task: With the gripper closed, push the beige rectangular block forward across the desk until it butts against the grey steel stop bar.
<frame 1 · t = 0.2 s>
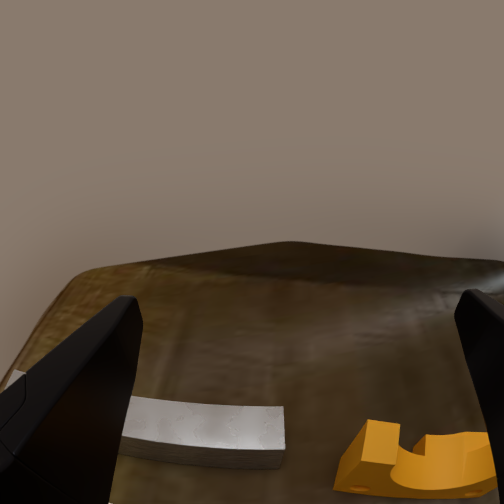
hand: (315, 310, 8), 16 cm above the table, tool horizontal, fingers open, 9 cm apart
stop bar: (137, 439, 19), on the table
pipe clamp: (414, 473, 17), on the table
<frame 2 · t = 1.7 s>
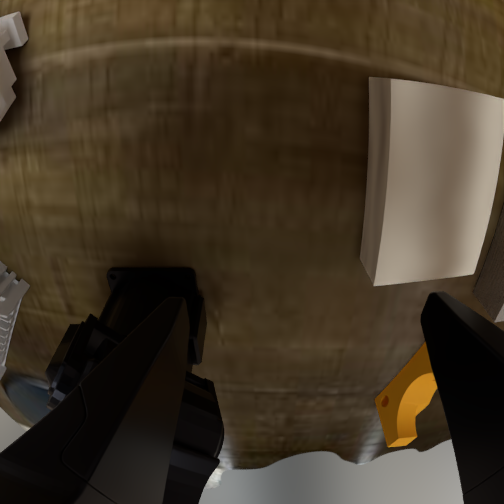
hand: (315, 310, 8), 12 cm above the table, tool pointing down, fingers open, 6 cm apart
beige rectangular block: (420, 173, 19), on the table
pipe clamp: (418, 364, 29), on the table
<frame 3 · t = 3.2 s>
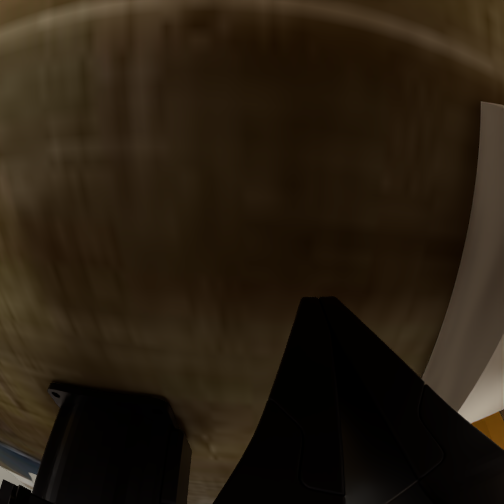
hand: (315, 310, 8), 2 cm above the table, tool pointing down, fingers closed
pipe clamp: (447, 447, 20), on the table
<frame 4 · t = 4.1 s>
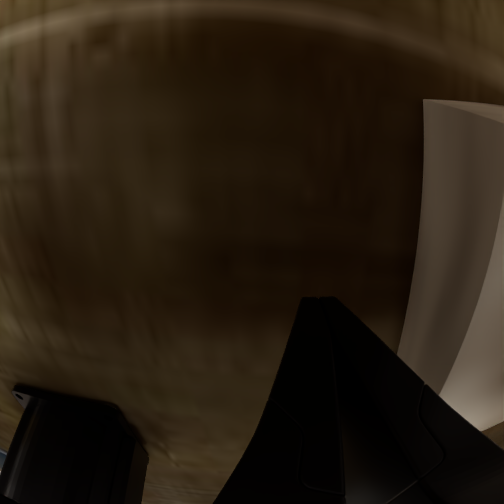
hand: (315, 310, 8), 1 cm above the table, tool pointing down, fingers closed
beige rectangular block: (494, 272, 9), on the table
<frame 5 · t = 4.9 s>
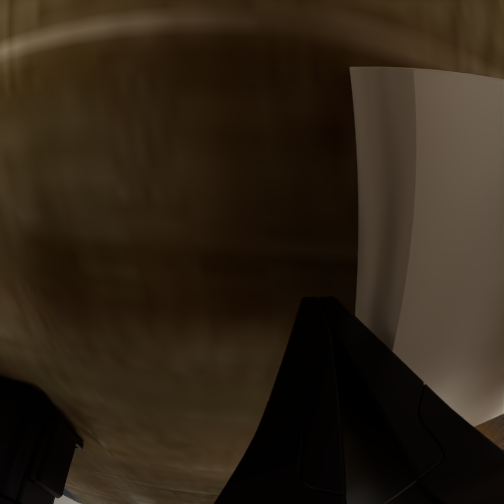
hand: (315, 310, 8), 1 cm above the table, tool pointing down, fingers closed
beige rectangular block: (461, 260, 9), on the table, touching gripper
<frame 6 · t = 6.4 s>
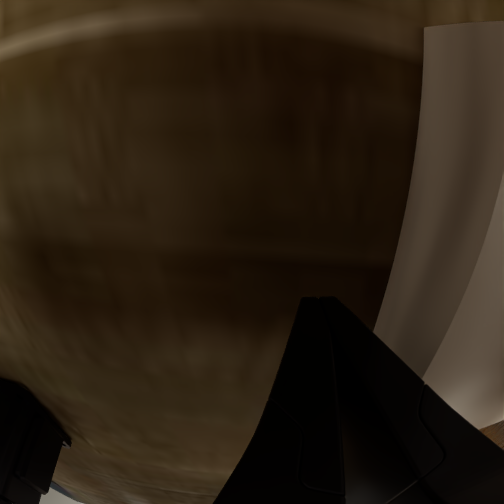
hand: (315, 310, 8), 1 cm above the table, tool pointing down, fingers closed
beige rectangular block: (490, 250, 8), on the table
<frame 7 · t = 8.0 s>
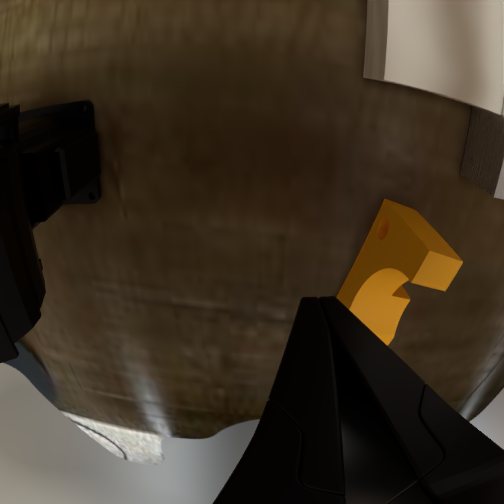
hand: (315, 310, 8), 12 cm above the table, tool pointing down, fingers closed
beige rectangular block: (425, 3, 13), on the table
stop bar: (494, 42, 13), on the table
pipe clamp: (372, 277, 23), on the table
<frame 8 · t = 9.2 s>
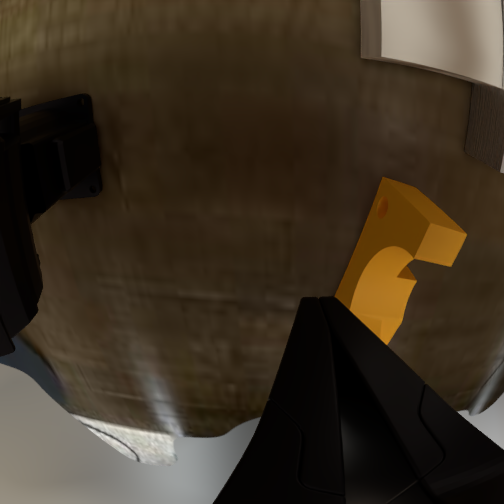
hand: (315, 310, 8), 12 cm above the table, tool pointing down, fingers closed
stop bar: (489, 19, 12), on the table
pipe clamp: (376, 260, 22), on the table
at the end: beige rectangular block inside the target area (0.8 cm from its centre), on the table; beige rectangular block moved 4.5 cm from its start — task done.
